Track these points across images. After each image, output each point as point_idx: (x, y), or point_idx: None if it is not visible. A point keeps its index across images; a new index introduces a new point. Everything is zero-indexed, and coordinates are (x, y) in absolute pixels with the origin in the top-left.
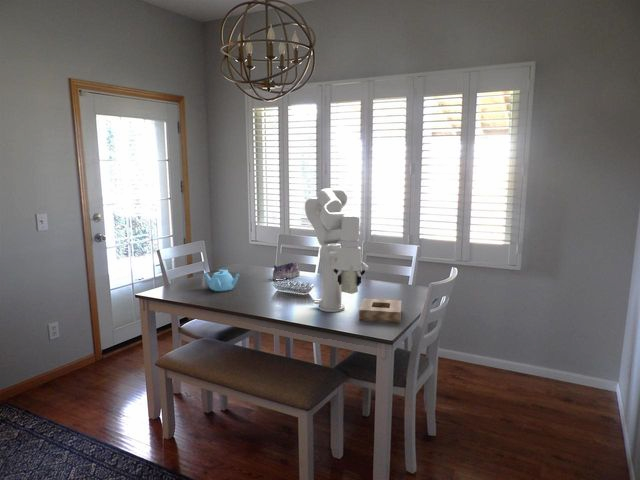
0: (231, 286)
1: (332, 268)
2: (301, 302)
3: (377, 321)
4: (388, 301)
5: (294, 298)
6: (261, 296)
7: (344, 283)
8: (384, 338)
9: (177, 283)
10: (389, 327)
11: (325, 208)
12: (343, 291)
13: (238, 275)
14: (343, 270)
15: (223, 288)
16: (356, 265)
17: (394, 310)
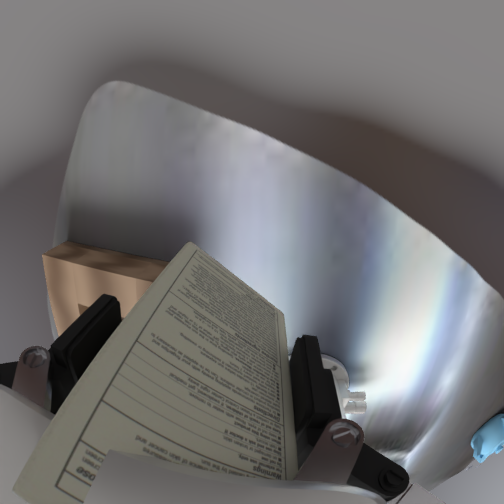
0: (483, 431)
1: (423, 493)
2: (383, 412)
3: (129, 254)
4: None
5: (391, 430)
6: (452, 419)
7: (252, 340)
8: (114, 81)
9: None
10: (91, 196)
11: None
12: (265, 300)
13: (477, 454)
14: (261, 483)
15: (496, 419)
16: None
17: (59, 276)
